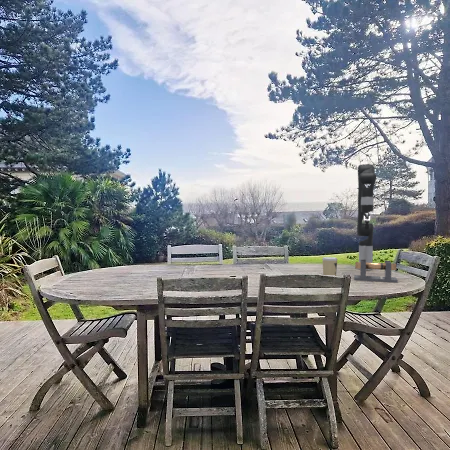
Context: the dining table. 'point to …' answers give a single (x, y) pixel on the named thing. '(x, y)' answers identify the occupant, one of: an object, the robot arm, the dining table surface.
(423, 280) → the dining table surface
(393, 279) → the grey u-shaped frame
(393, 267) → the copper tube
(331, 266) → the coffee cup
